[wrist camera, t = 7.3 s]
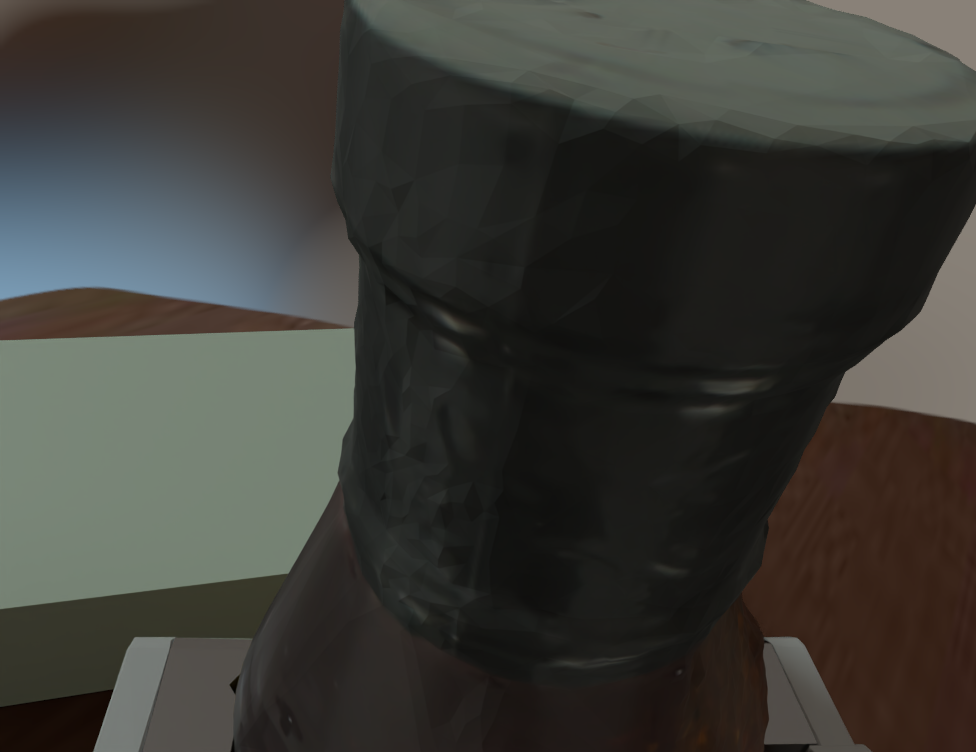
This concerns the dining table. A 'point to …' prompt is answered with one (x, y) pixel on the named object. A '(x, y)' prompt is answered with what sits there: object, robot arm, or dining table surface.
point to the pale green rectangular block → (156, 490)
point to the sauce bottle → (594, 358)
